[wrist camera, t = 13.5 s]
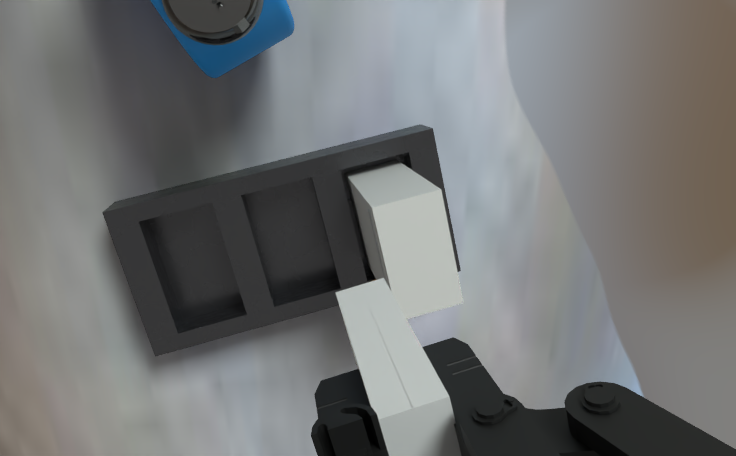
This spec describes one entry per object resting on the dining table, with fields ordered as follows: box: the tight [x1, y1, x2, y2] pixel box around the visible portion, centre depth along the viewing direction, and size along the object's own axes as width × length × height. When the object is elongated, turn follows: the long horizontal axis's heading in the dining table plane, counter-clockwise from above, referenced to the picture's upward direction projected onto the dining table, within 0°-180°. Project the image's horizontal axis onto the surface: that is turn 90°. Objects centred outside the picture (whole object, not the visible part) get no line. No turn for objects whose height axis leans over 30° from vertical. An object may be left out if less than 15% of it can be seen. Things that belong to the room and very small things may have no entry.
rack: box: [102, 125, 461, 356], centre depth 44 cm, size 11×23×4 cm, turn 103°
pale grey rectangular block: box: [345, 160, 464, 319], centre depth 40 cm, size 7×4×12 cm, turn 13°
